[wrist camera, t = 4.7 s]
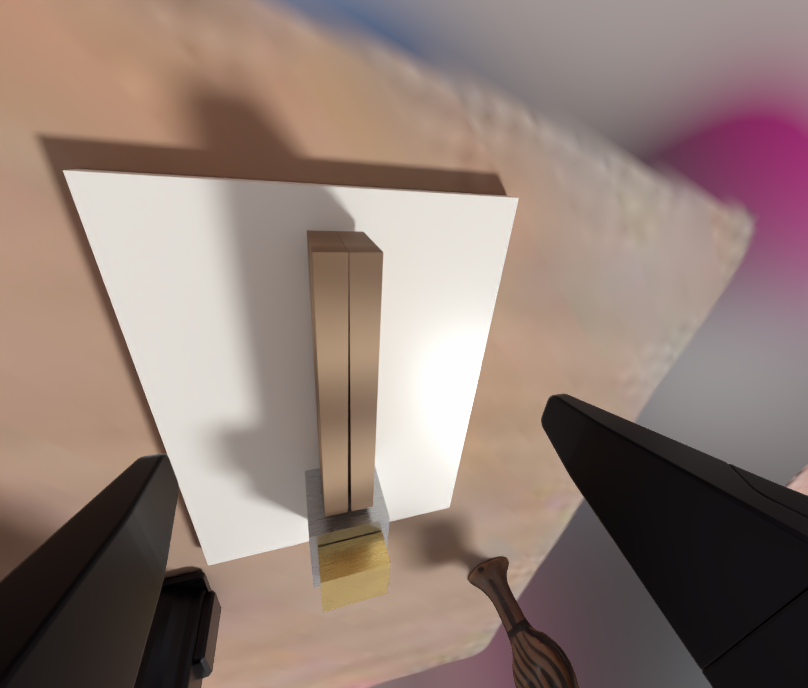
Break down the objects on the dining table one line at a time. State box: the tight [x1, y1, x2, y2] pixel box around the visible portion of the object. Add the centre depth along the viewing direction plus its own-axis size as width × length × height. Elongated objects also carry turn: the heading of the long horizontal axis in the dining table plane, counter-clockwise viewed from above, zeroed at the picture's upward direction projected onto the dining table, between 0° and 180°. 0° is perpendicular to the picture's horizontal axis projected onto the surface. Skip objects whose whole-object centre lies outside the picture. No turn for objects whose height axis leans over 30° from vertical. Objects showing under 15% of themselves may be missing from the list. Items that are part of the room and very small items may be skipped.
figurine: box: [469, 557, 579, 688], centre depth 31 cm, size 7×5×18 cm
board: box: [63, 169, 519, 566], centre depth 20 cm, size 18×24×1 cm
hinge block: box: [305, 468, 390, 587], centre depth 21 cm, size 5×4×4 cm
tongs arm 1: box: [336, 231, 383, 511], centre depth 16 cm, size 14×1×4 cm, turn 174°
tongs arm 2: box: [307, 230, 349, 517], centre depth 16 cm, size 14×1×4 cm, turn 174°
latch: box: [318, 532, 390, 612], centre depth 19 cm, size 3×4×2 cm
